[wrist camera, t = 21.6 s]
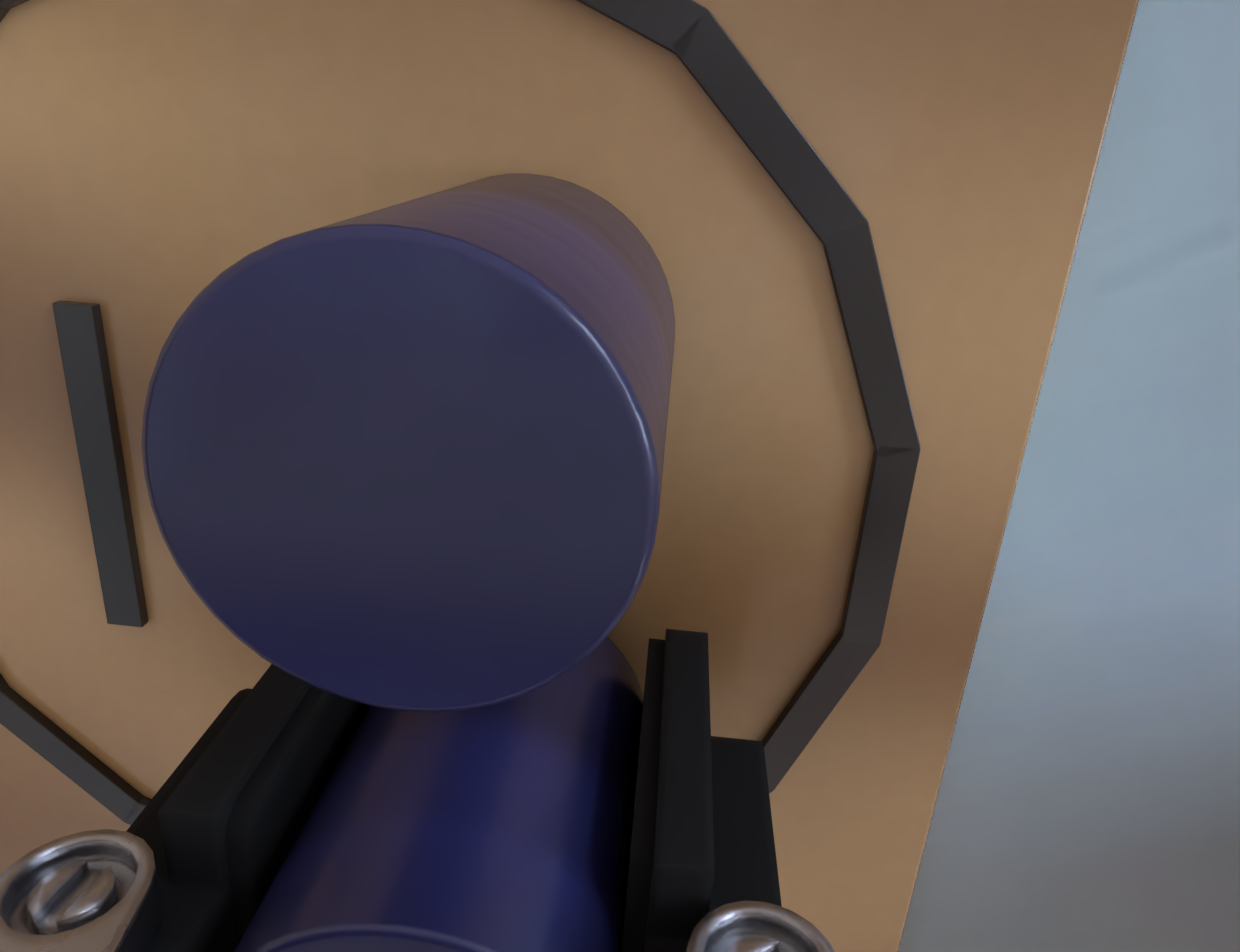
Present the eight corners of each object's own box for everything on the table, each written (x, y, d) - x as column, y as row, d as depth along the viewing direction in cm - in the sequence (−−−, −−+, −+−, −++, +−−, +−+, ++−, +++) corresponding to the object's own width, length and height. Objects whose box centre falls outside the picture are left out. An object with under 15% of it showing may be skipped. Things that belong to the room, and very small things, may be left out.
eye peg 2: (385, 581, 11) (170, 906, 7) (655, 607, 11) (629, 959, 6) (393, 795, 13) (218, 1192, 8) (635, 822, 12) (601, 1242, 8)
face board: (-489, -569, 9) (-598, -631, 8) (1239, -502, 8) (1293, -565, 7) (-43, 952, 16) (-76, 990, 15) (856, 1060, 15) (864, 1105, 15)
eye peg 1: (377, 164, 10) (94, 205, 5) (687, 182, 10) (680, 245, 5) (389, 453, 11) (172, 694, 6) (663, 475, 11) (641, 740, 6)
